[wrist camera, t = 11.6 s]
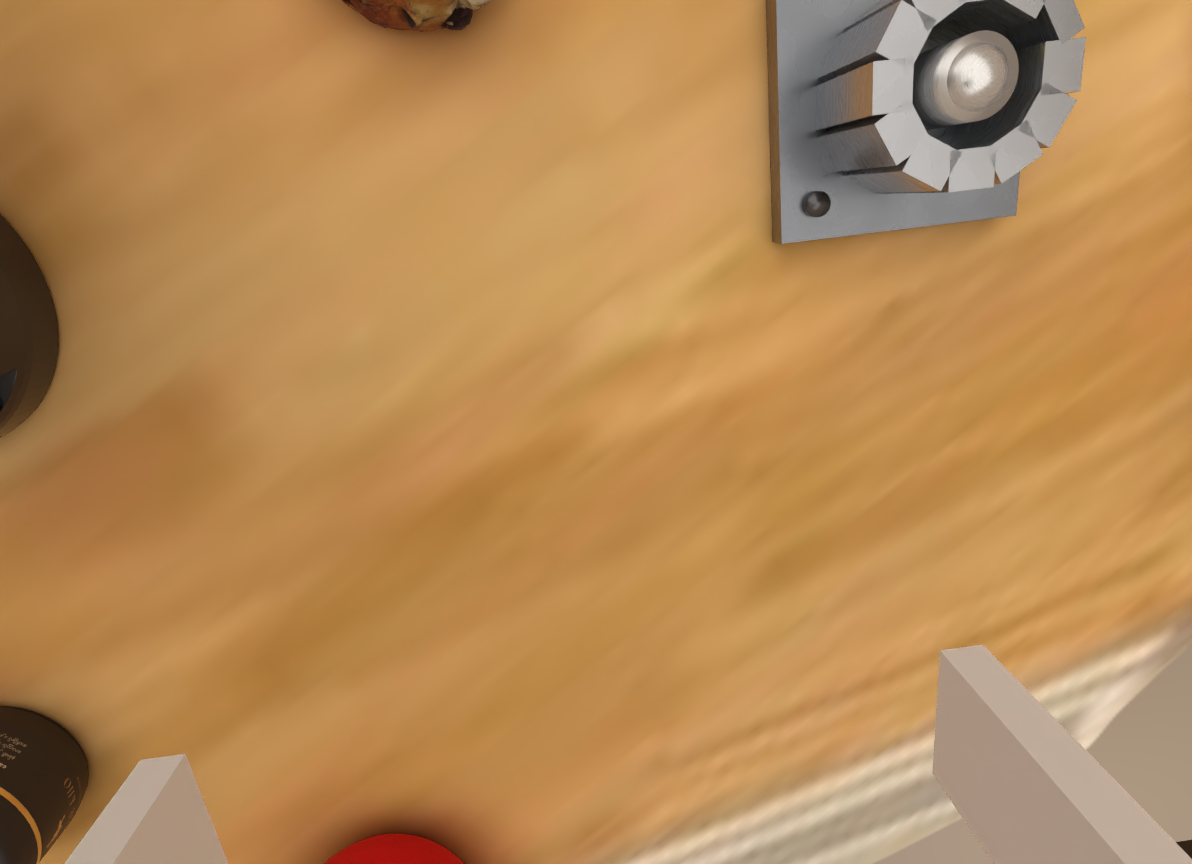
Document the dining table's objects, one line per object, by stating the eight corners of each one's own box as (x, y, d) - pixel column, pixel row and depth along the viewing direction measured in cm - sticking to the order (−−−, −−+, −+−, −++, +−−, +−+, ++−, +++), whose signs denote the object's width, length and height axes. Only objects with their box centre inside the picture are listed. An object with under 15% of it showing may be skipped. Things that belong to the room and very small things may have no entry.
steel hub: (816, 201, 34) (870, 201, 28) (815, 6, 31) (875, -37, 25) (983, 181, 34) (1070, 177, 28) (996, -14, 31) (1096, -62, 25)
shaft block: (772, 242, 36) (834, 253, 28) (765, -25, 32) (835, -97, 24) (997, 214, 36) (1120, 218, 28) (1018, -53, 32) (1167, -134, 24)
